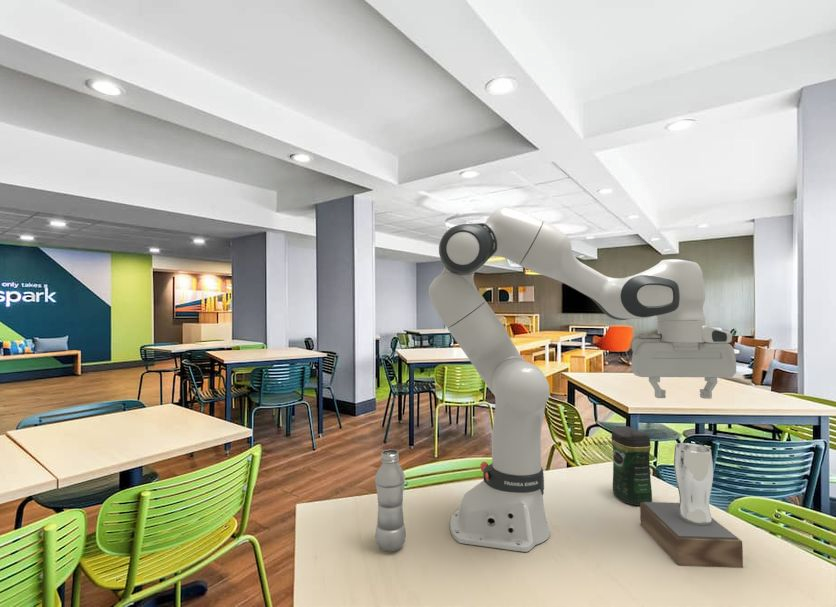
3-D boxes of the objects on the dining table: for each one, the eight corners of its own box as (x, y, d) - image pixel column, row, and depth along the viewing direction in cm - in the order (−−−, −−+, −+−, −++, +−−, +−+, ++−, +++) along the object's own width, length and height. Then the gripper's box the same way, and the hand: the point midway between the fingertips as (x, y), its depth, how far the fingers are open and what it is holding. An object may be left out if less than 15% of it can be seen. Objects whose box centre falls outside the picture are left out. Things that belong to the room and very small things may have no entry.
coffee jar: (658, 506, 106) (656, 432, 107) (629, 507, 105) (627, 434, 106) (634, 490, 116) (633, 423, 117) (607, 491, 115) (606, 424, 116)
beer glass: (721, 528, 85) (719, 453, 85) (684, 525, 86) (682, 451, 86) (704, 512, 91) (702, 443, 92) (669, 509, 93) (668, 441, 93)
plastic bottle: (409, 540, 91) (409, 448, 91) (400, 558, 84) (399, 458, 85) (382, 536, 93) (381, 446, 93) (370, 553, 86) (370, 456, 87)
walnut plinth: (678, 565, 81) (677, 537, 81) (640, 524, 97) (640, 500, 97) (743, 567, 80) (742, 539, 80) (694, 525, 96) (693, 502, 96)
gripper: (638, 334, 88) (639, 400, 87) (740, 334, 86) (742, 401, 86) (625, 333, 94) (626, 394, 93) (720, 333, 92) (722, 395, 92)
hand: (682, 398), depth 90 cm, fingers open, 8 cm apart
